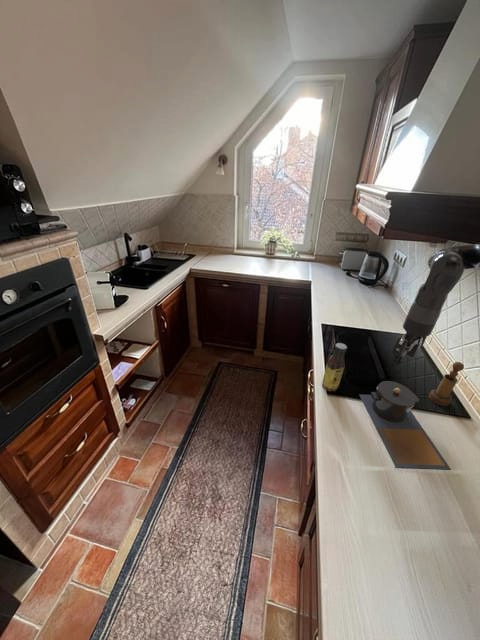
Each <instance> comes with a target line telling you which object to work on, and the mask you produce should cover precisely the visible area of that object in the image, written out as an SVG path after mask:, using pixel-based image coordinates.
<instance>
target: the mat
mask: <svg viewBox="0 0 480 640" xmlns="http://www.w3.org/2000/svg"><path fill="white" fill-rule="evenodd" d="M358 395H359V398H360V400H361V401H362V404H363V406H364V407H365V410H366V411H367V414H368V415H369V418H370V419H371V422H372V424H373V426H374V428H375V430H376V431H377V433H378V435H379V438H380V439H381V441H382V443H383V446H384V447H385V449H386V452H387V453H388V455H389V457H390V459H391V461H392V463H393V465H394V469H407V470H408V469H410V470H411V469H413V470H434V471H435V470H439V471H451V470H452V468H451V467H450V466H449V464H448V463H447V461H446V460H445V458H444V457H443V455H442V454H441V453H440V451H439V450H438V448H437V447H436V445H435V444H434V442H433V441H432V439H431V438H430V436H429V435H428V433H427V432H426V431H425V429H424V427H423V426H422V425H421V423H420V422H419V420H418V419H417V417H416V416H415V415H414V414H413V411H412V410H411V409H410V411H409V413H408V415H407V416H406V418H405V420H404V421H402V422H399V423H394V422H390V421H387V420H385V419H383V418H381V417H380V416H379V415H378V414H376V412H375V411H374V410H373V408H372V402H373V398H372V396H371V394H361V393H360V394H358Z"/></svg>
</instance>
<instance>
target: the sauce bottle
mask: <svg viewBox="0 0 480 640" xmlns="http://www.w3.org/2000/svg"><path fill="white" fill-rule="evenodd" d="M347 349H348V346H347V345H346V344H345V343H342V342H337V343H335V346H334V351H333V353H332V354H331V355H330V356H329V357H328V360H327V363H326V365H325V370H324V374H323V377H322V382H321V385H322V389H324V390H326V391H327V392H331V393H332V391H333V392H336V391H338V388H339V386H340V383H341V380H342V377H343V373H344V370H345V367H346V364H345V363H346V362H345V355H346V352H347Z"/></svg>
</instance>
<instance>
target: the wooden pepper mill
mask: <svg viewBox="0 0 480 640" xmlns="http://www.w3.org/2000/svg"><path fill="white" fill-rule="evenodd" d="M464 369H465V365H464V364H463V362H460V361H455V362H453V363H452V370H450V371H449V373H446V374H444V375H443V377H442V378H441V381H440V382H439V385H438V387H437V388H436V389H431V391H430V392H429V393H428V398H429V399H430V401H431V402H432V403H434V404H435V405H437V406H442V407H447V406H449V405H450V403H451V402H452V397H451V396H450V395H451V393H452V391H453V390H454V388H455V386H456V385H457V383H458V378H457V377H458V376H459V372H461V371H463V370H464Z"/></svg>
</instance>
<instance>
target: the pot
mask: <svg viewBox="0 0 480 640" xmlns="http://www.w3.org/2000/svg"><path fill="white" fill-rule="evenodd" d="M370 395H371V396H372V398H373V402H372V408H373V410H374V411H375V412H376V414H378V415H379V416H380V417H381V418H383V419H385V420H387V421H390V422H394V423H399V422H402V421H404V420H405V418H406V416H407V415H408V413H409V411H410V410H411V409H412V408H413V407H415V404H416V403H419V401H420V399H419V398H418V396H417V395H416V393H414V392H413V391H412V390H411V389H409V388H408V387H407V386H405V385H403V384H401V383H399V382H396V381H392V380H383V381H381V382H379V383H378V385H377V386H376V391H371V392H370Z"/></svg>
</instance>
